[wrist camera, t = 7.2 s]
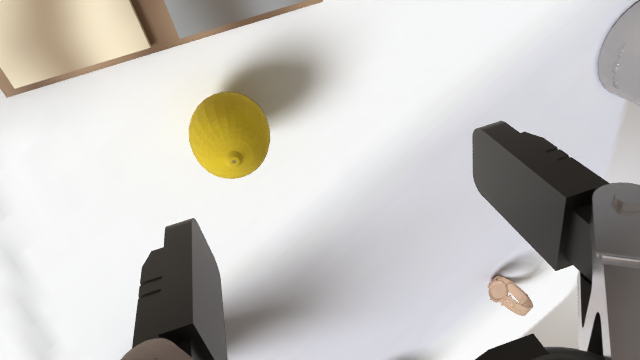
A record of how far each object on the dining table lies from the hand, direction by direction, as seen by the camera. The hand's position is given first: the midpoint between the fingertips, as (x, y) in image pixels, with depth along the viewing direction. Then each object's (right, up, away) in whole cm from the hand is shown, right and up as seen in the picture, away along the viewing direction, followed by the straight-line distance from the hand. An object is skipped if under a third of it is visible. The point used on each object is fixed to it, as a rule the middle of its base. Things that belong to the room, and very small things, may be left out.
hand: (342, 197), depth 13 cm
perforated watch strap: (+21, -11, +41) cm, 48 cm away
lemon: (-8, +6, +22) cm, 24 cm away
